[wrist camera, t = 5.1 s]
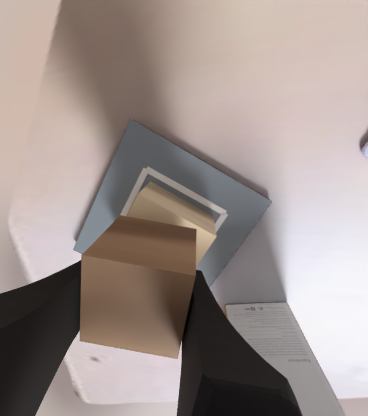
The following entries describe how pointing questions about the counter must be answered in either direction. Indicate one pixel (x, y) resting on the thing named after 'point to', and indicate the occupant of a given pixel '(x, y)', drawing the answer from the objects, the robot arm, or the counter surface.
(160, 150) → the board
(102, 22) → the counter surface
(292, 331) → the small box
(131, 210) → the maple block
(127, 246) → the walnut block
